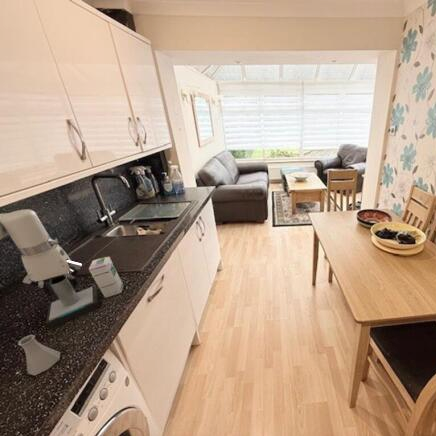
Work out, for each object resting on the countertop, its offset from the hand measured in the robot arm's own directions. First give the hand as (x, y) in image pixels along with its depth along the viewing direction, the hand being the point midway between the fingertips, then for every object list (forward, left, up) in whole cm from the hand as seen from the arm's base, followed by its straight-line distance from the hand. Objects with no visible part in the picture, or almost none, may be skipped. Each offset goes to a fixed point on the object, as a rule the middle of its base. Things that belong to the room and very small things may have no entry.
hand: (64, 289), depth 84 cm
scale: (0, 0, -9) cm, 9 cm away
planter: (0, 0, -6) cm, 6 cm away
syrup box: (+12, +3, -9) cm, 15 cm away
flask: (-2, -23, -9) cm, 25 cm away
